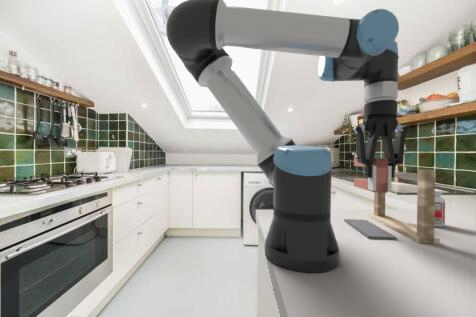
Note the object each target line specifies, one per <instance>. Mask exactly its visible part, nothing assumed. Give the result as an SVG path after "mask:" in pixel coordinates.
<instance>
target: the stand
mask: <svg viewBox="0 0 476 317" xmlns="http://www.w3.org/2000/svg"><path fill="white" fill-rule="evenodd" d="M394 178H397V179H403V180H405V179H406V180H411V181H413V180H414V181H417V192H416V193H417V194H416V195H417V196H416V197H417V200H416V201H417V202H416V227H414V226H412V225H409V224H408V223H405V222H402V221H400V220H398V219H396V218H393V217H392V216H389V215H387V214H386V193H379V192H373V195H374V196H373V213H370V214H369V218H371V219H373V220H374V221H376V222H378V223H380V224H382V225H383V226H386V227H388V228H389V229H391V230H393V231H395V232H397V233H399V234H400V235H403V236H404V237H407V238H408V239H410V240H412V241H414V242H416V243H418V244H437V245H440V243H441V242H440V241H441V239H440V238H439V237H436V236H435V227H434V218H435V190H436V170H435V169H433V170H432V169H417V173H414V172H404V171H395V176H394Z"/></svg>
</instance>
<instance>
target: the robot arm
mask: <svg viewBox="0 0 476 317" xmlns="http://www.w3.org/2000/svg"><path fill="white" fill-rule="evenodd" d="M165 26H166V37H167V41H168V43H169V45H170V47H171V49H172V50H173V52H175V54H176V55H177V57H178V58H179V60H181V62H182V64H183V65H184V68H185V69H186V70H187V72H188V73H189V74H191V76H192V77H193V79H194V80H195V82H197V84H198V86H200V87H203V88H207V89H208V90H209V91H210V92H211V94H212V95H213V97H214V98H215V100H216V101H217V103H219V105H220V106H221V108H222V109H223V110H224V112H225V113H226V114H227V116H228V117H229V118H230V120H231V121H232V123H233V124H234V125H235V127H236V128H237V130H238V131H239V132H240V133H241V135H242V136H243V137H244V139H245V140H246V142H247V143H248V144H249V146H250V147H251V148H252V150H253V152H255V155H256V156H257V158H256V164H257V166H258V168H260V170H261V172H262V173H263V174H264V176H265V177H266V179H268V182H269V184H270V185H271V186H272V188H273V214H272V215H273V216H272V220H271V222H270V226H269V229H268V232H267V233H266V234H267V235H266V238H265V242H264V254H265V256H266V258H267V259H268V260H270V261H271V262H272V263H273V264H275V265H277V266H280V267H282V268H284V269H288V270H292V271H296V272H301V273H323V272H328V271H331V270H334V269H336V268H337V267H339V265H340V259H341V258H340V251H341V250H340V247H339V244H338V241H337V239H336V235H335V231H334V228H333V225H332V221H331V218H332V217H331V215H332V214H331V211H332V210H331V208H332V169H333V162H332V154H331V151H330V150H329V149H328V148H326V147H322V146H317V145H316V146H315V145H314V146H313V145H297V144H296V143H295V142H294V140H293V139H292V138H291V137H285V136H283V134H281V132H280V131H279V129H278V128H277V126H276V125H275V124H274V123H273V122H272V120H271V119H270V117H269V116H268V114H267V113H266V112H265V111H264V109H263V108H262V106H261V105H260V104H259V102H258V101H257V100H256V99H255V96H253V95H252V93H251V92H250V90H249V89H248V87H247V86H246V85H245V83H244V82H243V81H242V79H241V78H240V77H239V76H238V75H237V73H236V71H235V70H234V69H233V58H232V57H231V55H230V54H229V52H228V51H227V50H226V49H225V47H234V48H243V49H244V48H245V49H252V50H253V49H254V50H262V51H270V52H271V51H272V52H280V53H288V54H291V53H292V54H299V55H306V56H307V55H309V56H317V57H319V61H318V70H317V72H318V73H317V75H318V78H319V80H321V81H322V82H333V83H334V82H358V81H363V88H364V89H363V102H364V103H365V104H364V105H363V118H364V119H363V122H362V124H360V125H358V126H355V127H352V132H353V134H354V137H355V146H356V148H355V149H356V158H357V161H358V162H359V163H362V164H364V165H365V167H364V177H365V178H367V179H368V189H369V190H372V191H376V166H372V165H373V163H374V158H376V157H375V155H376V150H377V145H378V140H379V139H380V140H381V142H382V148H383V154H384V158H388V180H387V192H392V179H394V178H395V177H394V176H395V167H396V166H398V165H400V164H403V163H404V158H405V147H406V137H407V136H406V135H407V133H408V132H409V129H410V127H409V125H402V124H399V121H398V119H397V116H398V104H399V102H398V101H397V99H398V98H399V95H398V94H399V93H398V92H399V91H398V90H399V89H398V88H399V87H398V83H399V82H398V77H399V76H398V75H399V74H398V73H399V72H398V71H399V70H398V69H399V58H400V57H399V47H398V46H399V45H398V42H397V41H396V39H397V36H398V34H399V31H400V30H399V28H400V24H399V20H398V18H397V16H396V15H395V14H394V13H393V12H392V11H390V10H388V9H385V8H378V9H374V10H370V11H369V12H368V13H367V14H365V15H364V16H362V17H361V19H358V18H349V17H341V16H329V15H319V14H309V13H302V12H293V11H292V12H291V11H290V12H289V11H281V10H272V9H271V10H270V9H264V8H263V9H262V8H252V7H244V6H233V5H227V3H226V2H225V0H186V1H183V2H180V3H179V4H178V5H177V6H175V7H174V8H173V10H171V11H170V14H169V16H168V18H167V22H166V25H165ZM365 132H366V133H367V145H366V140H365V134H364V133H365ZM393 132H395V134H393ZM393 139H394V141H393ZM393 142H394V144H393ZM369 190H368V191H369ZM372 191H371V192H372Z"/></svg>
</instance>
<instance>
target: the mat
mask: <svg viewBox="0 0 476 317" xmlns="http://www.w3.org/2000/svg"><path fill="white" fill-rule="evenodd" d="M343 222H345V223H346V224H348V225H349V226H350V227H351V228H353V229H355V231H357V232H359V233H360V234H361V235H363V236H364V237H366V239H373V240H375V239H377V240H396V241H397V236H395V235H394V234H392V233H390V232H388V231H387V230H385V229H383V228H381V227H380V226H377V225H376V224H374V223H373V222H371V221H369V220H367V219H351V218H349V219H348V218H344V219H343Z"/></svg>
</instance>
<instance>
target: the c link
mask: <svg viewBox="0 0 476 317" xmlns="http://www.w3.org/2000/svg"><path fill="white" fill-rule="evenodd" d="M353 166H354V167H360V168H361V167H363V168H365V165H364V164H362V163H359V162H358V161H357V157H353ZM372 166H376V191H372V190H369V189H368V178H364V177H363V178H360V177H358V178H355V177H354V178H353V186H354V187H356V188H358V189H361V190H362V189H363V190H366V191H369V192H372V193H374V192H379V193H385V194H387V193H388V191H387V180H388V158H385V157H382V158H380V157H374V163H373V165H372Z"/></svg>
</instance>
